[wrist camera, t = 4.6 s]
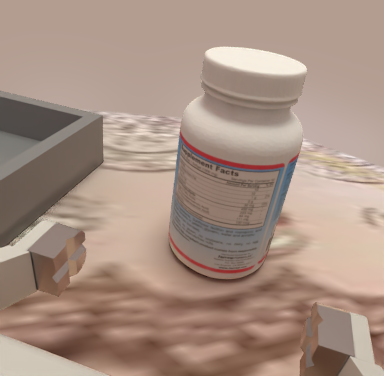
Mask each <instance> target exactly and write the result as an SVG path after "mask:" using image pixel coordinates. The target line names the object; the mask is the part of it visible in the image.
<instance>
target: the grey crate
mask: <svg viewBox="0 0 384 376" xmlns="http://www.w3.org/2000/svg"><path fill="white" fill-rule="evenodd" d="M102 162H103V116H102V115H99V114H95V113H91V112H86V111H82V110H78V109H74V108H69V107H66V106H61V105H57V104H53V103H48V102H44V101H40V100H36V99H32V98H28V97H24V96H19V95H15V94H11V93H7V92H3V91H0V248H2V247H5V246H6V245H7V244H8V243H10V242H11V241H12V240H13V239H14V238H15V237H16V236H18V235H19V234H20V233H21V232H22V231H23V230H25V229H26V228H27V227H28V226H29V225H30V224H32V223H33V222H34V221H35V220H36V219H37V218H39V217H40V216H41V215H42V214H43V213H44V212H45V211H47V210H48V209H49V208H50V207H51V206H52V205H54V204H55V203H56V202H57V201H58V200H59V199H61V198H62V197H63V196H64V195H65V194H66V193H68V192H69V191H70V190H71V189H72V188H73V187H74V186H76V185H77V184H78V183H79V182H80V181H81V180H83V179H84V178H85V177H86V176H87V175H88V174H90V173H91V172H92V171H93V170H94V169H95V168H97V167H98V166H99V165H100V164H101V163H102Z"/></svg>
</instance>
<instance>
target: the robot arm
mask: <svg viewBox="0 0 384 376" xmlns="http://www.w3.org/2000/svg"><path fill="white" fill-rule="evenodd" d="M84 241H85V233H84V232H83V231H80V230H77V229H74V228H71V227H68V226H65V225H62V224H59V223H55V222H52V221H49V220H47V219H46V220H43V221H41V222H40V223H39V224H37V225H36V226H35V227H34V228H33V229H32V230H31V231H30V232H28V233H27V234H26V235H25V236H24V237H23V238H22V239H20V240H19V241H18V242H17V243H16V244H15V245H14V246H10V245H8V246H5V247H2V248H0V311H1V310H3V309H5V308H7V307H8V306H10V305H12V304H14V303H16V302H18V301H20V300H21V299H23V298H25V297H27V296H29V295H31V294H33V293H35V292H36V291H37V290H39V291H42V292H45V293H48V294H51V295H55V296H58V297H59V296H60V295H61V293H62V292H63V291H64V290H65V288H66V287H67V286H68V285H69V283H70V277H71V276H73V275H76V274H77V273H78V272H79V271H80V269H81V268H82V266H83V264H84V262H85V258H86V249H85V247H84V246H83V244H82V243H83V242H84ZM301 349H302V351H303V352H304V354H303V356H302V358H301V360H300V376H384V370H383V369H382V368H381V366H379V365H376V364H375V360H374V355H373V349H372V343H371V337H370V331H369V326H368V320H367V318H366V317H365V316H362V315H359V314H355V313H352V312H348V311H345V310H342V309H338V308H335V307H332V306H328V305H325V304H321V303H318V302H315V303H314V304H313V306H312V309H311V317H309V318H307V319H306V322H305V324H304V327H303V331H302V336H301ZM0 376H110V375H108V374H105V373H102V372H100V371H97V370H94V369H92V368H89V367H87V366H84V365H81V364H79V363H76V362H73V361H71V360H68V359H66V358H63V357H60V356H58V355H55V354H52V353H50V352H47V351H45V350H42V349H39V348H37V347H34V346H31V345H29V344H26V343H24V342H21V341H18V340H16V339H13V338H10V337H8V336H5V335H3V334H0Z"/></svg>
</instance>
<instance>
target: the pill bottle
mask: <svg viewBox="0 0 384 376" xmlns="http://www.w3.org/2000/svg"><path fill="white" fill-rule="evenodd" d="M306 73H307V69H306V66H304V65H303V64H302V63H301V62H299V61H297V60H294V59H292V58H289V57H286V56H283V55H280V54H276V53H272V52H267V51H262V50H256V49H250V48H240V47H216V48H212V49H209V50H208V51H206V53H205V55H204V61H203V70H202V74H201V80H202V83H201V86H202V88H203V89H204V91H205V94H204V95H202V96H200V97H198V98H196V99H194V100H193V101H192V102H191V103H190V104H189V105H188V106H187V107H186V109H185V111H184V113H183V116H182V121H181V127H180V136H179V145H178V154H177V162H176V172H175V181H174V189H173V197H172V206H171V216H170V225H169V243H170V246H171V248H172V250H173V252H174V253H175V255H176V256H177V257H178V258H179V260H180V261H182V262H183V263H184V264H185V265H187V266H188V267H190V268H191V269H193V270H194V271H196V272H198V273H200V274H203V275H205V276H208V277H212V278H217V279H235V278H240V277H244V276H246V275H249V274H251V273H253V272H254V271H256V270H257V269H258V268H259V267H260V266H261V265H262V264H263V262H264V260H265V258H266V256H267V253H268V250H269V247H270V244H271V241H272V238H273V235H274V231H275V228H276V225H277V222H278V219H279V216H280V213H281V210H282V206H283V203H284V200H285V197H286V194H287V191H288V187H289V184H290V181H291V178H292V175H293V172H294V168H295V165H296V162H297V159H298V156H299V153H300V149H301V146H302V141H303V130H302V126H301V123H300V121H299V120H298V118H297V117H296V115H295V114H294V113H293V112H292V111H291V110H290V107H291V106H293V105H295V104H296V103H297V101H298V98H299V97H300V96H301V94H302V89H303V85H304V82H305V78H306Z"/></svg>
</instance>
